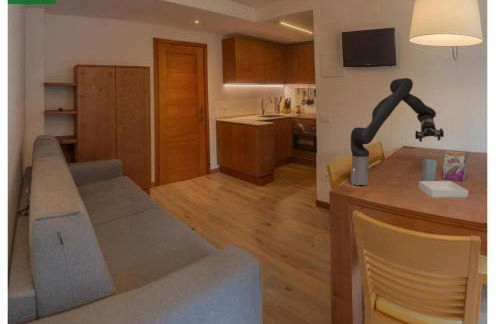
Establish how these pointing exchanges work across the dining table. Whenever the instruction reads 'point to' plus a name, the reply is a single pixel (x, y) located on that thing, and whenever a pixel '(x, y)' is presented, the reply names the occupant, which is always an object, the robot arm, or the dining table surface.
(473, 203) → the dining table surface
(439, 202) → the dining table surface
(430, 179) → the slate block
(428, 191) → the tray
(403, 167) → the dining table surface
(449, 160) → the candy bar box
